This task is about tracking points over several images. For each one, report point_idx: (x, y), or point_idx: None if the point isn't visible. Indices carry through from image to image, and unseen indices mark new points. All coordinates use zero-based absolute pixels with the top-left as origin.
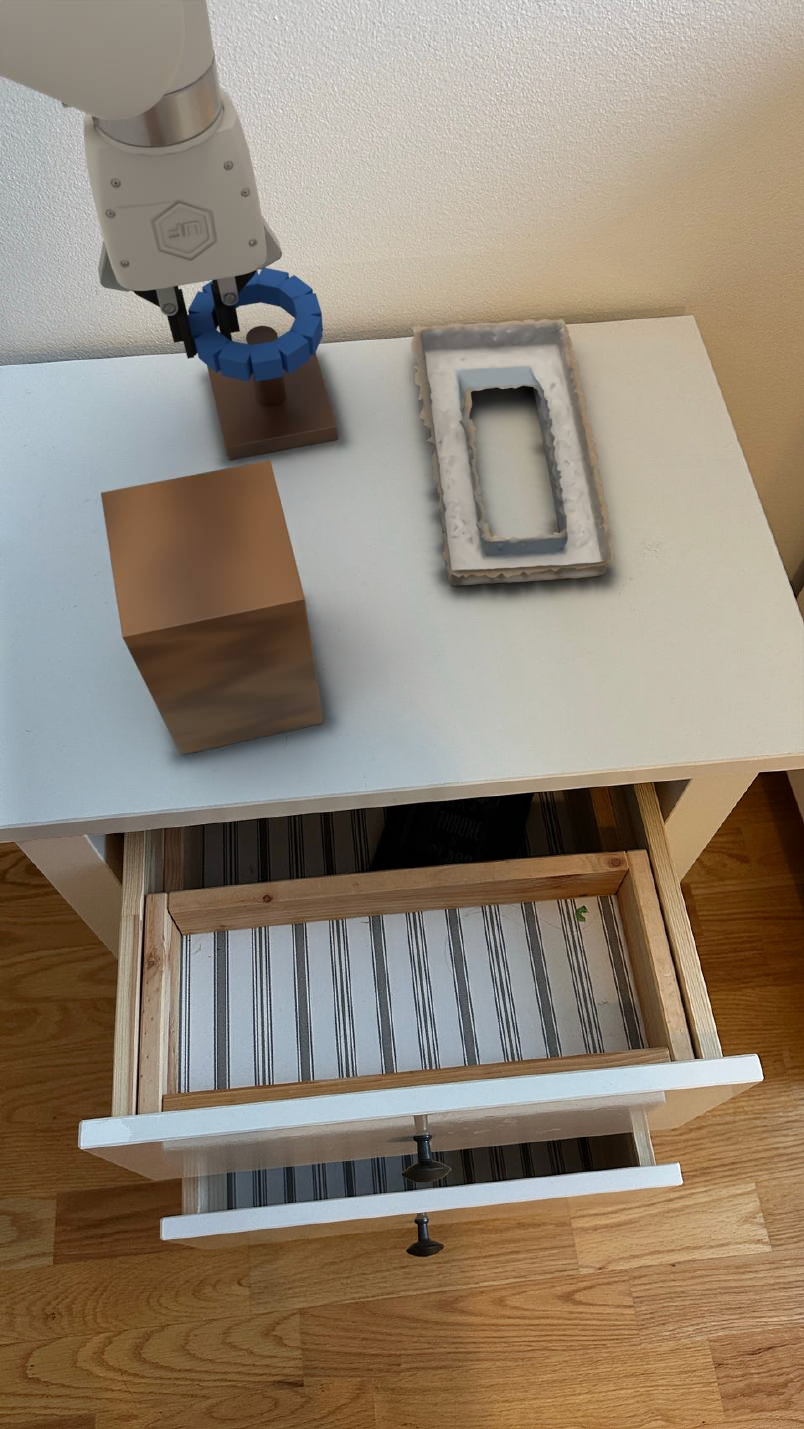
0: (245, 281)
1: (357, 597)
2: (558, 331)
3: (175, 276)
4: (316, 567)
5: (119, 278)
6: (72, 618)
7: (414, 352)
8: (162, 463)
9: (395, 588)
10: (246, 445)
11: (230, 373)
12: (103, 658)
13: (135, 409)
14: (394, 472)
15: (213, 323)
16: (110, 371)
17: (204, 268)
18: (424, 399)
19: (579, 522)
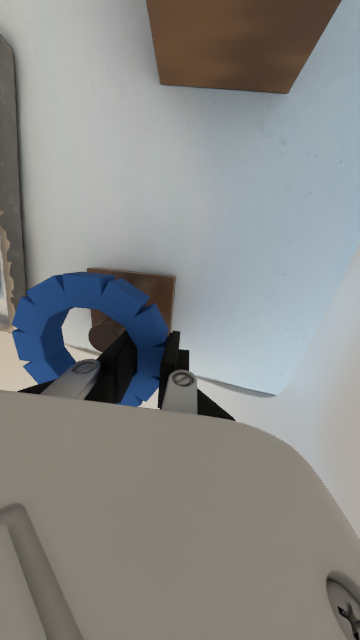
0: (45, 385)
1: (102, 72)
2: None
3: (132, 439)
4: (132, 130)
5: (328, 495)
6: (350, 147)
7: (13, 310)
8: (221, 289)
9: (66, 71)
10: (158, 275)
11: (138, 291)
12: (348, 78)
13: (223, 340)
14: (56, 219)
15: (137, 356)
16: (228, 373)
17: (22, 439)
18: (5, 260)
19: None
